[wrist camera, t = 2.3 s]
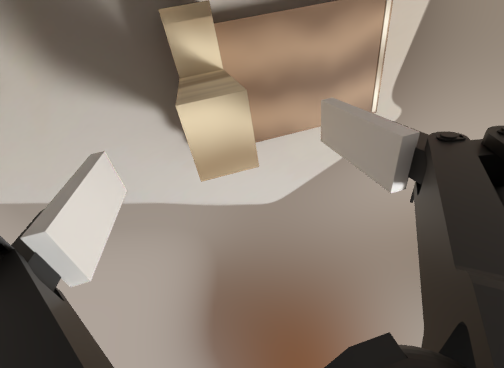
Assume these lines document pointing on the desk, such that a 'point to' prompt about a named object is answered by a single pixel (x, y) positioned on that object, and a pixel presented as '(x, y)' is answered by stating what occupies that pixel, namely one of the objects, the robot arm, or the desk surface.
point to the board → (306, 61)
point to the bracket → (208, 95)
